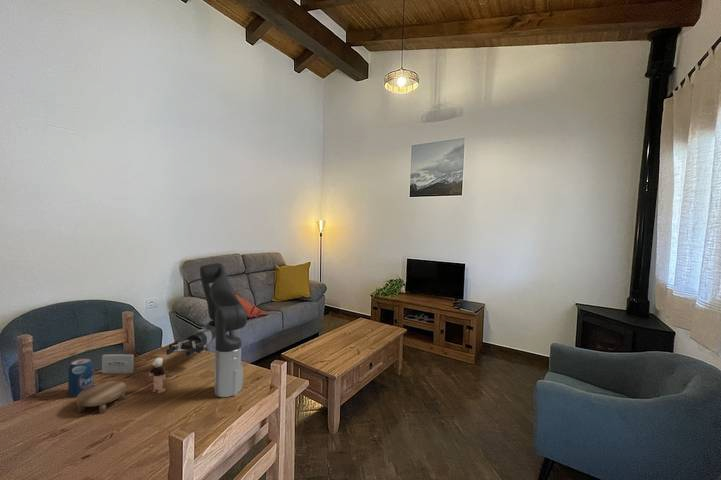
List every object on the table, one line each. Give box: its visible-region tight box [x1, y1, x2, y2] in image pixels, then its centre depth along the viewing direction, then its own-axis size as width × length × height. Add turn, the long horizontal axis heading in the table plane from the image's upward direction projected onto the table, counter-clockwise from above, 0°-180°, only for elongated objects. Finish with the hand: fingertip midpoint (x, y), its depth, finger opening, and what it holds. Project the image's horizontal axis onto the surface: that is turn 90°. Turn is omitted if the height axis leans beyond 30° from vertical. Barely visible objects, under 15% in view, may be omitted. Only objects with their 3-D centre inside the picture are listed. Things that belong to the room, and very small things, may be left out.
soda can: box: [67, 357, 95, 398], centre depth 113 cm, size 7×7×12 cm
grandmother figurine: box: [148, 357, 167, 394], centre depth 116 cm, size 8×4×13 cm, turn 84°
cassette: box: [101, 354, 135, 375], centre depth 129 cm, size 12×2×8 cm, turn 96°
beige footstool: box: [76, 380, 127, 415], centre depth 106 cm, size 13×13×5 cm
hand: (177, 353), depth 128 cm, fingers open, 8 cm apart
